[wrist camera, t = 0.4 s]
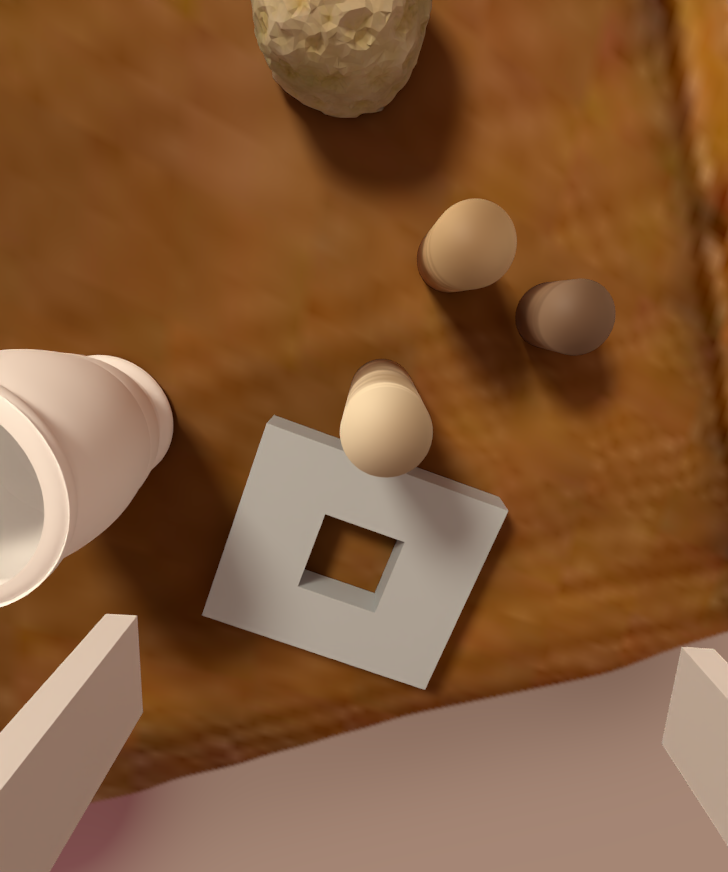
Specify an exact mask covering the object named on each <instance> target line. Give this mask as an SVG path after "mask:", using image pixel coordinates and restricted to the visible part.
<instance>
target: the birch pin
mask: <svg viewBox="0 0 728 872" xmlns="http://www.w3.org/2000/svg"><path fill="white" fill-rule="evenodd" d="M432 438H433V427H432V421H431V418H430V415H429V413H428V411H427V409H426V407H425V405H424V403H423V401H422V399H421V397H420V396H419V394H418V392H417V390H416V388H415V386H414V384H413V382H412V380H411V378H410V376H409V374H408V373H407V371H406V370H405V369H404V368H403V367H402V366H401V365H399V364H398V363H396V362H394V361H391V360H387V359H376V360H372V361H370V362H368V363H366V364H364V365H363V366H362V367H361V368H359V370H358V371H357V372H356V374H355V375H354V377H353V380H352V383H351V387H350V391H349V394H348V398H347V402H346V406H345V409H344V413H343V417H342V421H341V426H340V440H341V444H342V447H343V450H344V452H345V454H346V456H347V457H348V459H349V460H350V461H351V462H352V463H353V464H354V465H355V466H356V467H357V468H358V469H360V470H361V471H363V472H365V473H367V474H369V475H373V476H376V477H386V478H388V477H396V476H400V475H403V474H405V473H407V472H409V471H411V470H412V469H414V468H415V467H417V466H418V465H419V464H420V463H421V462H422V461H423V459H424V458H425V456H426V455H427V453H428V451H429V449H430V446H431V443H432Z"/></svg>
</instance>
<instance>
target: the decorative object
mask: <svg viewBox="0 0 728 872" xmlns="http://www.w3.org/2000/svg"><path fill="white" fill-rule="evenodd" d="M251 3H252V9H253V21H254V25H255V30H254V32H255V36H256V38H257V42H258V45H259V48H260V50H261V51H262V52H263V54H264V56H265V59H266V62H267V64H268V65H269V68H270V69H271V70H272V73H273V79H274V80H275V81H276V82H277V83H278V84H279V85H280V86H281V87H282V88H283V89H284V90H285V91H286V92H287V93H289V94H290V95H291V96H292V97H294V98H296V99H297V100H298V101H300V102H301V103H302V104H303V105H306V106H308V107H311V108H313V109H316V110H319V111H321V112H322V113H324V114H325V115H329V116H334V117H339V118H356V117H358V116H359V115H360V114H363V113H374V112H378V111H382V110H383V108H384V107H385V106H386V105H387V104H388V103H390V102H391V101H392V100H393V99H394V97H395V96H396V94H397V93H398V92H399V91H400V90H401V89H402V88H403V87H404V86H405V84H406V83H407V82H408V80H409V78H410V75H411V73H412V70H413V68H414V67H415V65H416V64H417V60H418V56H419V53H420V50H421V47H422V43H423V40H424V37H425V31H426V26H427V23H428V20H429V19H430V12H431V9H432V0H251Z"/></svg>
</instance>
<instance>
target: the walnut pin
mask: <svg viewBox="0 0 728 872" xmlns="http://www.w3.org/2000/svg"><path fill="white" fill-rule="evenodd" d="M614 322H615V306H614V302H613V299H612V297H611V295H610V294H609V292H608V291H607V290H606V289H605V288H604V287H603V286H602V285H600V284H599V283H597V282H595V281H592V280H589V279H572V280H563V281H555V282H546V283H541V284H539V285H536V286H534V287H532V288H531V289H530V290H528V291H527V292H526V293H525V294H524V296H523V297H522V298H521V300H520V302H519V304H518V306H517V310H516V326H517V329H518V331H519V333H520V335H521V336H522V337H523V339H524V340H525V341H527V342H528V343H529V344H531V345H533V346H536V347H539V348H543V349H547V350H551V351H554V352H558V353H562V354H566V355H582V354H586V353H589V352H591V351H593V350H595V349H596V348H598V347H599V346H600V345H601V344H602V343H603V342H604V341H605V340H606V339H607V337H608V336H609V334H610V333H611V331H612V328H613V326H614Z"/></svg>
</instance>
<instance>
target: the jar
mask: <svg viewBox="0 0 728 872" xmlns="http://www.w3.org/2000/svg"><path fill="white" fill-rule="evenodd" d="M172 435H173V416H172V411H171V407H170V404H169V402H168V399H167V397H166V395H165V394H164V392H163V390H162V389H161V387H160V386H159V385H158V383H157V382H156V381H155V380H154V379H153V378H152V377H151V376H150V375H149V374H148V373H147V372H145V371H144V370H143V369H141V368H140V367H138V366H137V365H135V364H133V363H131V362H129V361H127V360H124V359H121V358H118V357H113V356H107V355H92V356H83V355H78V354H70V353H60V352H54V351H45V350H33V349H10V350H0V607H2V606H5V605H8V604H10V603H13V602H15V601H17V600H19V599H21V598H22V597H24V596H26V595H27V594H29V593H30V592H31V591H33V590H34V589H35V588H36V587H38V586H39V585H40V584H41V583H42V582H43V581H44V580H45V579H46V578H47V577H48V576H49V575H50V574H51V573H52V572H53V571H54V570H55V569H56V567H57V566H58V565H59V563H60V562H61V561H62V559H63V558H64V557H66V556H68V555H70V554H72V553H73V552H75V551H77V550H78V549H80V548H81V547H83V546H85V545H86V544H87V543H89V542H90V541H92V540H93V539H94V538H96V537H97V536H98V535H100V534H101V533H102V532H103V531H104V530H106V529H107V528H108V527H109V526H110V525H111V524H112V523H113V522H114V521H115V520H116V519H117V518H118V517H119V516H120V515H121V514H122V512H123V511H124V510H125V509H126V507H127V506H128V505H129V504H130V502H131V501H132V499H133V498H134V496H135V495H136V493H137V491H138V490H139V488H140V487H141V486H142V484H143V483H144V481H145V480H146V478H147V477H148V475H149V473H150V471H151V470H152V469H153V468H154V467H155V466H156V465H157V464H158V463H159V462H160V461H161V460H162V459H163V457H164V456H165V454H166V453H167V451H168V449H169V446H170V443H171V440H172Z"/></svg>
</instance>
